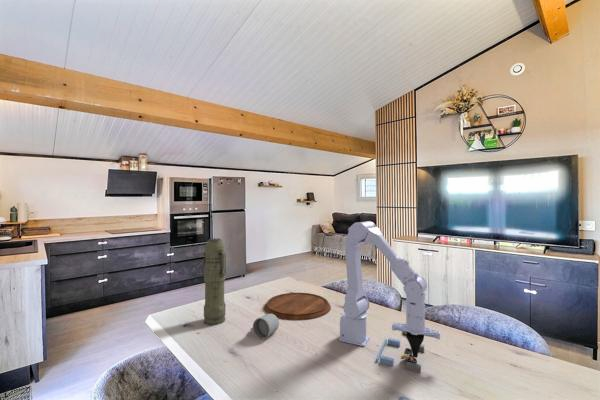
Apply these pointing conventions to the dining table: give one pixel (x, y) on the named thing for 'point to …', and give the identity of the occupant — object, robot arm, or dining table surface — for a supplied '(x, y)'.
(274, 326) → the ceramic mug
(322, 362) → the dining table surface
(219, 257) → the thermos
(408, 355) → the composite cable
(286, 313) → the cutting board
